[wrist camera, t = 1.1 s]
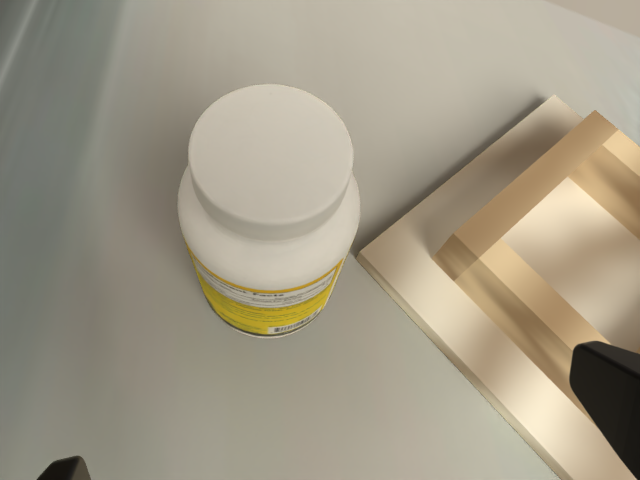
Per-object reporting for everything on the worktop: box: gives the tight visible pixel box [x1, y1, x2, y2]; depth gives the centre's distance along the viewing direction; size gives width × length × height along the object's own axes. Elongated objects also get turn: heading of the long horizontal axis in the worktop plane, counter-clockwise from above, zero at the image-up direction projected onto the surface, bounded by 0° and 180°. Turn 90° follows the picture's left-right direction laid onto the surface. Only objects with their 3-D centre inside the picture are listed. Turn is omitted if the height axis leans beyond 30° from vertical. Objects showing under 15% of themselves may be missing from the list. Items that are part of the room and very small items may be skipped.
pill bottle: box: [177, 84, 360, 338], centre depth 19 cm, size 6×6×11 cm
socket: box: [356, 95, 640, 480], centre depth 24 cm, size 16×16×4 cm
